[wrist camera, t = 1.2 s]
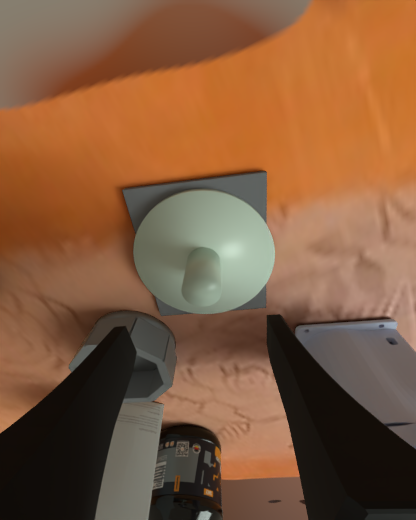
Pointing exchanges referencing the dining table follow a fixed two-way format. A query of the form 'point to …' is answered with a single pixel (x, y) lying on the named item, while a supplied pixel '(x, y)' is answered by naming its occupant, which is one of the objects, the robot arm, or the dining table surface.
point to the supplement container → (187, 476)
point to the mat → (240, 185)
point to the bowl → (138, 353)
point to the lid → (204, 251)
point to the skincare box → (131, 463)
